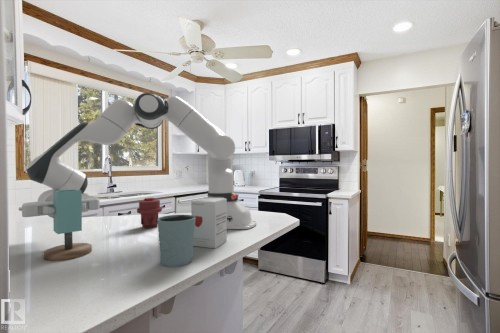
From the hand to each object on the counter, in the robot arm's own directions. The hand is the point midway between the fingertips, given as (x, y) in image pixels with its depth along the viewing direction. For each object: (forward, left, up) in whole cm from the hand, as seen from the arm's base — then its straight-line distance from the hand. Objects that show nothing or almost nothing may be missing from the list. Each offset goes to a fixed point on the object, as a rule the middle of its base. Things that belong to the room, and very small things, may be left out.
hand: (68, 209), depth 80 cm
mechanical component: (-1, -36, -14) cm, 39 cm away
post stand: (+1, 0, -13) cm, 14 cm away
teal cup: (-34, -3, -14) cm, 37 cm away
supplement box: (-36, -20, -14) cm, 44 cm away
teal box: (+1, 0, -6) cm, 7 cm away
